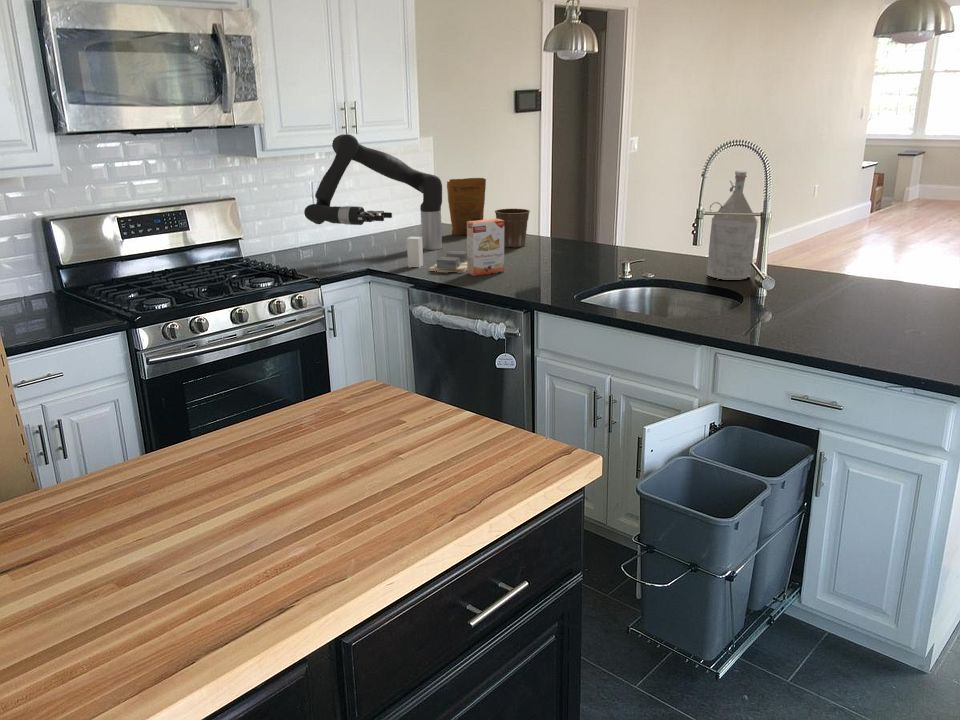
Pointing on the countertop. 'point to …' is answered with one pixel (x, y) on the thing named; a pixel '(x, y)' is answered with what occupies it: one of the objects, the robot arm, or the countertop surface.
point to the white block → (415, 252)
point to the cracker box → (485, 246)
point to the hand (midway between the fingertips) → (387, 216)
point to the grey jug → (732, 236)
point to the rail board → (451, 262)
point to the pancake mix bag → (465, 202)
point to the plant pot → (514, 226)
